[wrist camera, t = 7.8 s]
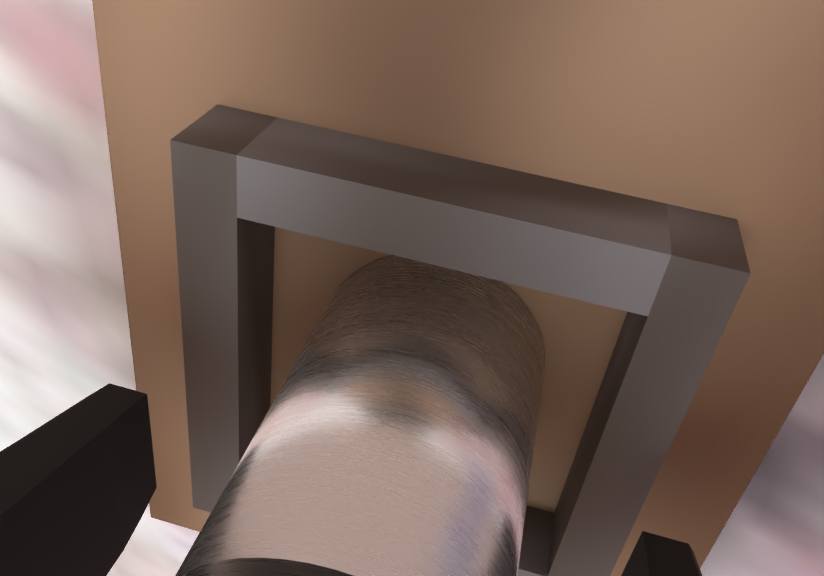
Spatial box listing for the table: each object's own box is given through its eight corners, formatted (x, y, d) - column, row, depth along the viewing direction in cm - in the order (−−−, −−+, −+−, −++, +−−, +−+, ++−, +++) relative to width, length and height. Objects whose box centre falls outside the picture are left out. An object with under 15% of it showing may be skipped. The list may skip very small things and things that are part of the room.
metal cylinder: (569, 284, 12) (517, 799, 6) (519, 455, 14) (443, 950, 8) (331, 229, 12) (54, 654, 6) (318, 403, 15) (107, 835, 9)
